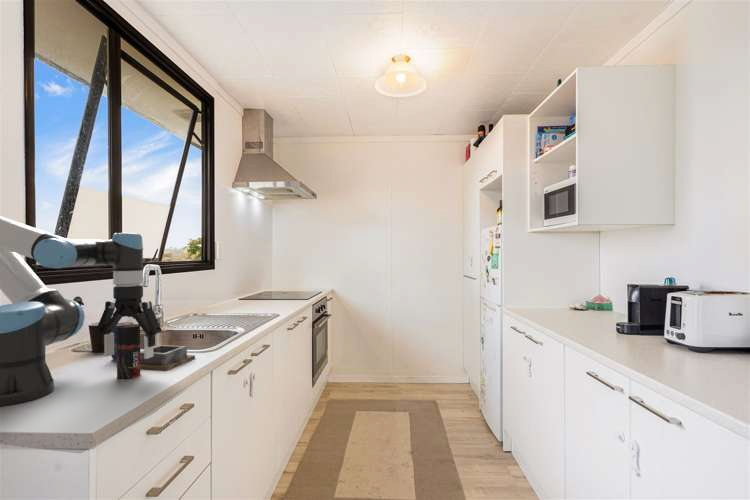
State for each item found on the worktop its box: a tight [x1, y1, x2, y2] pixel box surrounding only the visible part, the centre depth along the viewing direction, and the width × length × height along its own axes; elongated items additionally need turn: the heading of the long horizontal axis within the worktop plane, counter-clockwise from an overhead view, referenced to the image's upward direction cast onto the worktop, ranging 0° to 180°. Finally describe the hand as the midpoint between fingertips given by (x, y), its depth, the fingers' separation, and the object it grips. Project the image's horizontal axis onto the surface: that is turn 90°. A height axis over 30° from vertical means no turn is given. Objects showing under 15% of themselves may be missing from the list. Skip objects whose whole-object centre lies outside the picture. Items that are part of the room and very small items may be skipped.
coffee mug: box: [87, 321, 104, 353], centre depth 150 cm, size 12×9×10 cm
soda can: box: [110, 322, 134, 362], centre depth 137 cm, size 7×7×12 cm
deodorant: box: [116, 323, 141, 380], centre depth 118 cm, size 6×6×15 cm
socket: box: [140, 344, 196, 371], centre depth 132 cm, size 14×14×4 cm
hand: (128, 356), depth 118 cm, fingers open, 13 cm apart
